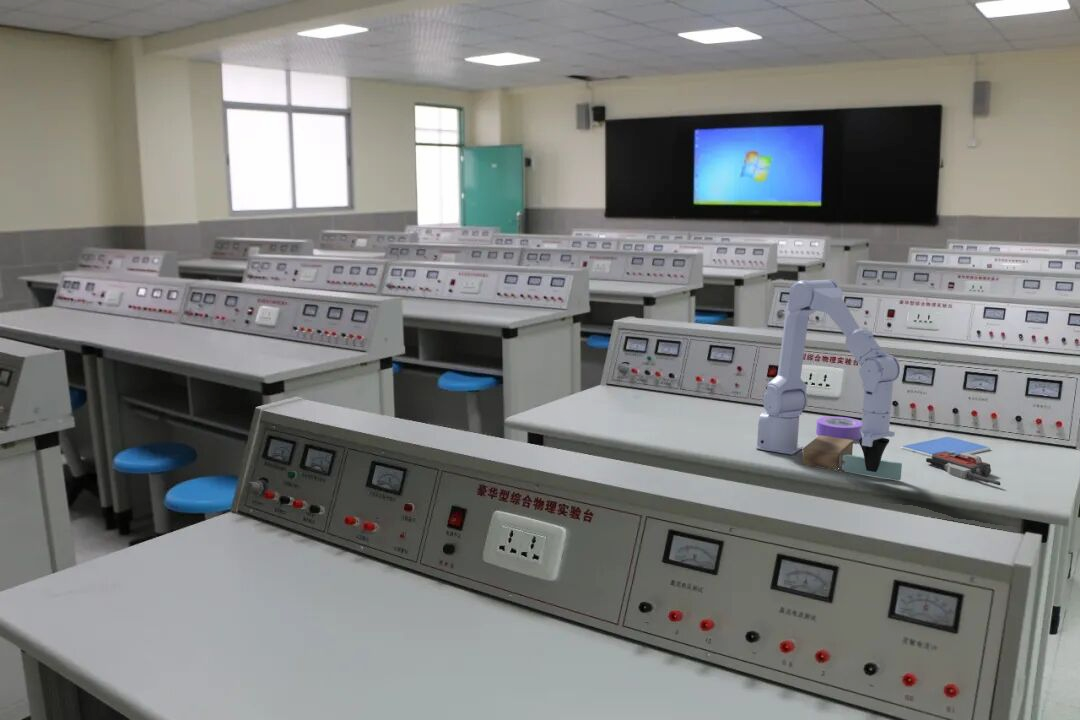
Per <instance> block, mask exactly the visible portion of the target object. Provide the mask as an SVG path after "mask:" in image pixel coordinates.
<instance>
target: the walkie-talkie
mask: <svg viewBox="0 0 1080 720" xmlns="http://www.w3.org/2000/svg"><path fill="white" fill-rule="evenodd" d="M960 455H962V456H960ZM925 462H927V463H929V464H930V466H931V467H934V468H937V469H940V468H941V470H944V471H946V472H947V473H948V475H950V476H955V477H958V478H960V479H963V480H965V479H973V480H977V481H980V482H984V483H986V484H987V483H990V484H994V485H997V486H1001V482H1000V481H999V480H995V479H992V478H988V476H990V474H991V472H992V468H991V464H990V463H987V462H984V461H982V458H981V457H980V456H978V455H975V454H968V453H961V454H955V451H951V452H946V451H944V452H938V453H934V454H932V457H926V459H925ZM985 475H986V476H987V477H985Z"/></svg>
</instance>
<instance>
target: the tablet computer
mask: <svg viewBox="0 0 1080 720" xmlns="http://www.w3.org/2000/svg"><path fill="white" fill-rule="evenodd" d="M900 449H901V450H904V451H907V452H911V453H915V454H919V455H921V456H925V457H927V458H932V454H934V453H938V452H944V451H946V452H951V451H955V454H961V453H968V454H972V455H975V454H979V453H983V452H986V451H987V452H988V451H990V450H991V447H990V446H987V445H983V444H979V443H975V442H970V441H968V440H967V441H966V440H963V439H959V438H955V437H952V436H944V437H939V438H935V439H929V440H926V441H921V442H915V443H911V444H906V445H905V444H904V445H902V446H900ZM960 456H962V455H960Z"/></svg>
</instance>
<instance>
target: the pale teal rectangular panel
mask: <svg viewBox="0 0 1080 720" xmlns="http://www.w3.org/2000/svg"><path fill="white" fill-rule="evenodd" d="M842 461H845V463H844V464H842V471H843V472H845V473H846V472H847V473H853V474H858V475H864V476H869V477H877V478H883V479H889V480H893V481H901V479H902V466H903V463H902V462H899V461H898V462H897V461H892V460H885V459H881V461H880V465H879V468H878V470H877V471H876V472H872V471H867V470H866V466H865V459H864V456H860V455H859V456H858V455H853V454H852V455H848V454H846V455H843V460H842Z"/></svg>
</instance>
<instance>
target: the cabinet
mask: <svg viewBox="0 0 1080 720" xmlns="http://www.w3.org/2000/svg"><path fill="white" fill-rule="evenodd" d="M853 447H854V440H849V439H842V438H836V437H829V436H822V435H820V436H819V435H817V437H816V438H814V439H813V440H811V441H810V442H809V443H808V444H807V445H805V446H804V447H803V448H802V449H803V450H802V462H801V463H802V465H805V466H810V467H815V468H822V467H823V469H828V468H829V469H828V470H834V469H836V470H837V471H836V470H835V471H836V472H839V471H842V472H843V470H842V464H843V463H844V464H845V461H842V460H843V455H846V454H848V455H853V450H854V449H853ZM838 468H839V469H838Z"/></svg>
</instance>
